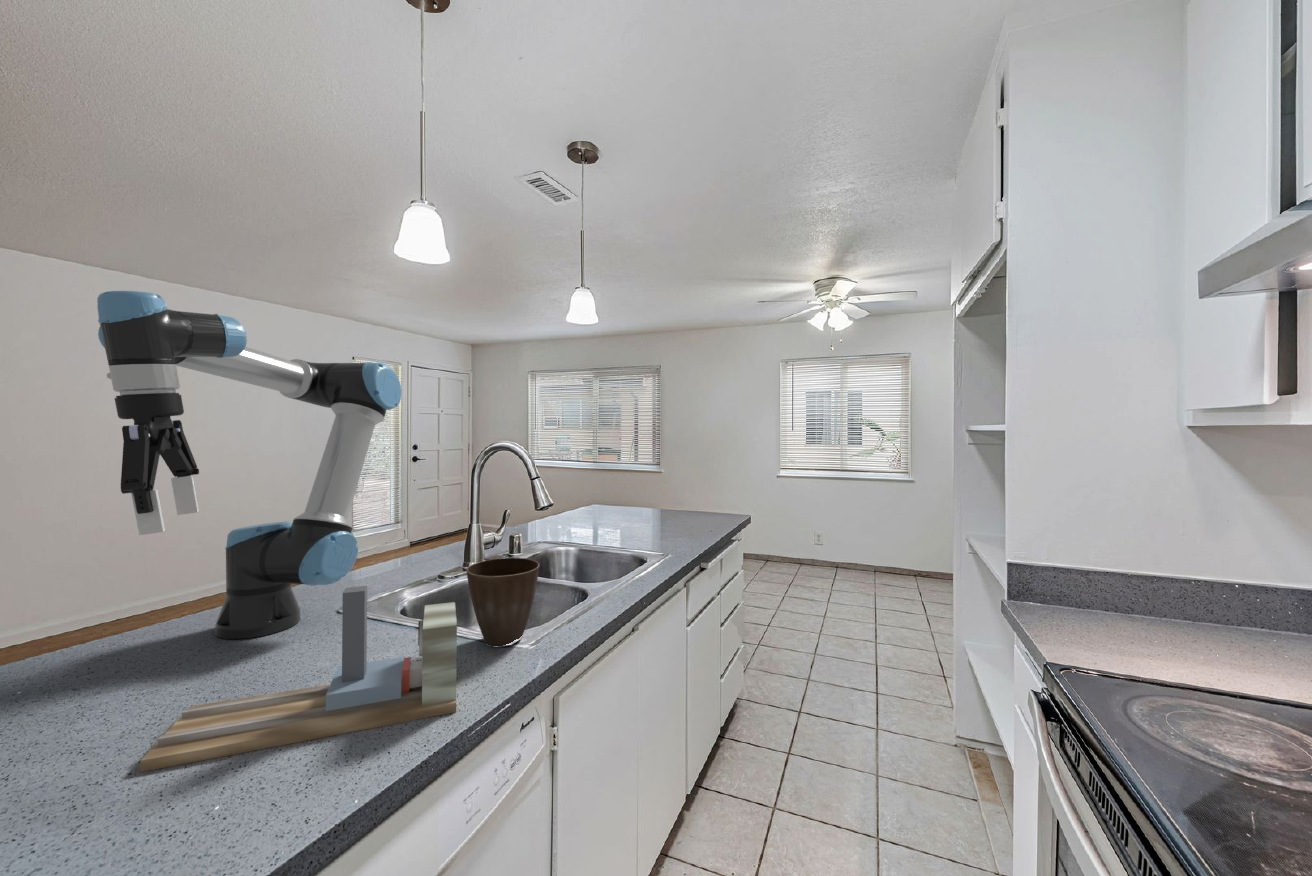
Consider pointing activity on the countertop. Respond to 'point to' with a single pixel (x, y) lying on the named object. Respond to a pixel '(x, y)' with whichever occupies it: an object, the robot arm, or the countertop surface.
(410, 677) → the button
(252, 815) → the countertop surface
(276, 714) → the rail track
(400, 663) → the carriage
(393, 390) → the robot arm
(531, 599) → the plant pot
